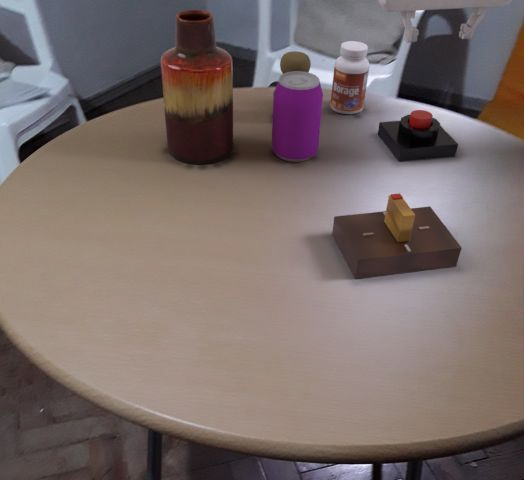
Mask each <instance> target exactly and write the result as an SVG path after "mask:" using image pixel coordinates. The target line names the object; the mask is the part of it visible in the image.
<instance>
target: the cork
mask: <svg viewBox="0 0 524 480" xmlns="http://www.w3.org/2000/svg"><path fill="white" fill-rule="evenodd" d="M311 62H312V61H311V59H310V56H309V55H308V54H306V52H302V51H297V50H295V51H288V52H285V53H284V54H283V55H282V56H281V58H280V61H279V68H280V71H281V73H282V74H284V73H287V72H292V71H301V72H308V73H310V70H311V67H312V66H311V65H312V63H311Z"/></svg>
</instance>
